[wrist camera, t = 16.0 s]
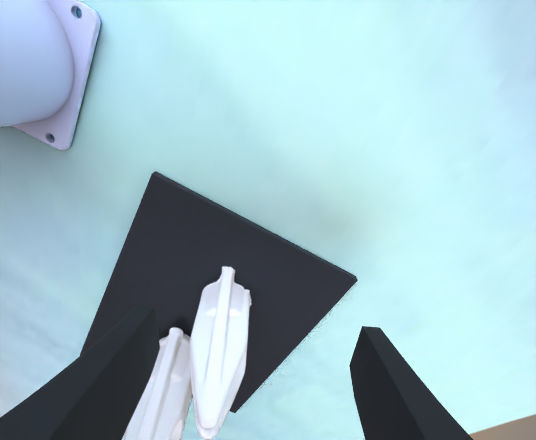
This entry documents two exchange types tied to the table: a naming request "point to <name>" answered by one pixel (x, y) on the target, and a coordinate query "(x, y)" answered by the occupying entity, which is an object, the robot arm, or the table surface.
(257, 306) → the placemat
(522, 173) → the table surface
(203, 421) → the shaker set
